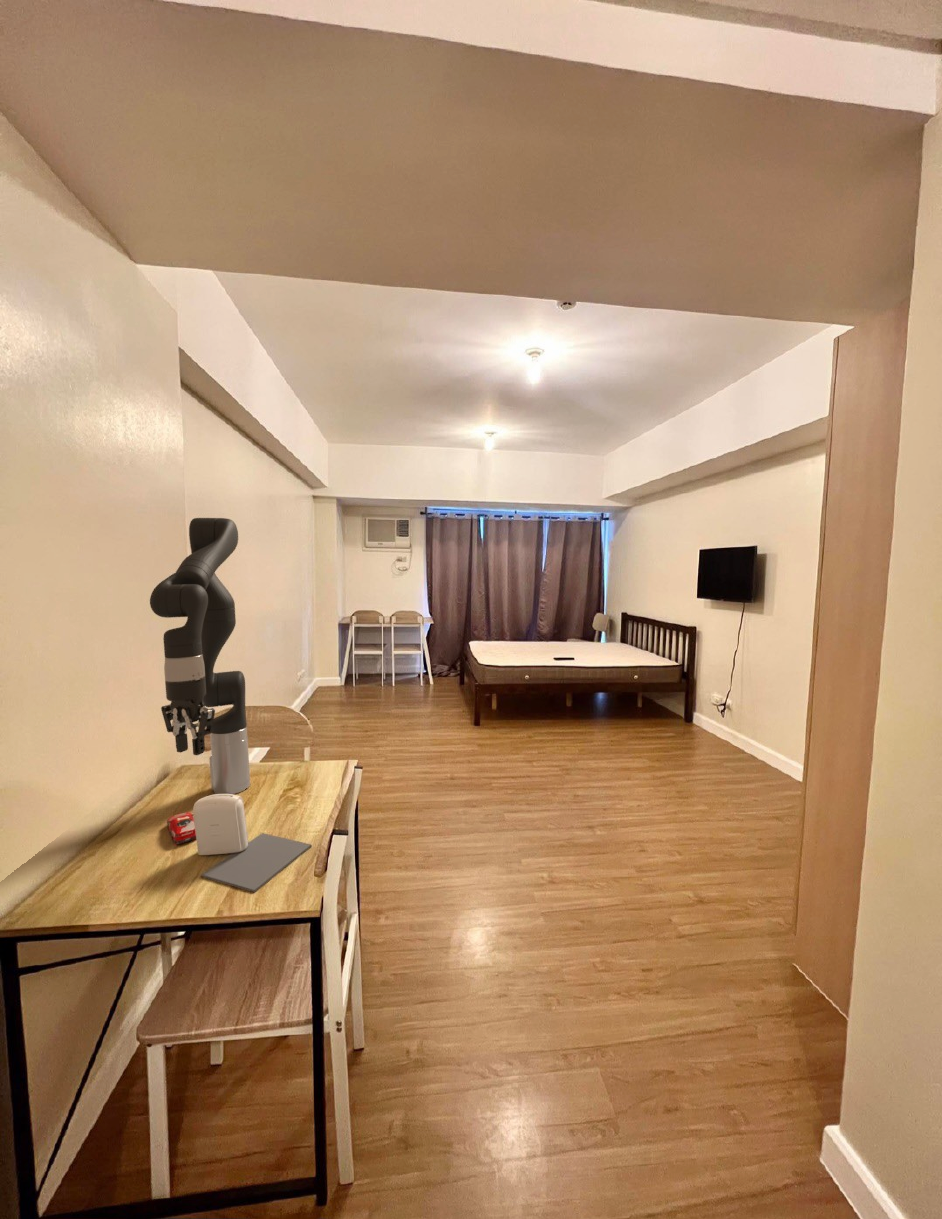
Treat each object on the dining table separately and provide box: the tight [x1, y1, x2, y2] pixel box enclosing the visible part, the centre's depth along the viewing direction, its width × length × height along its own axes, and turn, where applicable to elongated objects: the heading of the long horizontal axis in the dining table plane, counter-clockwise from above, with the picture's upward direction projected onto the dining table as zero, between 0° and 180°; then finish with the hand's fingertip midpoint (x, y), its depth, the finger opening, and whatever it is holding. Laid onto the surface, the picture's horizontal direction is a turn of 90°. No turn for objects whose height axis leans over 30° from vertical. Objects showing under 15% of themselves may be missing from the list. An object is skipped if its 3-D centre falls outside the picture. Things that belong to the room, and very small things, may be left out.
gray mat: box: [200, 832, 312, 893], centre depth 101 cm, size 14×16×1 cm
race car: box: [166, 812, 196, 845], centre depth 113 cm, size 13×5×4 cm, turn 38°
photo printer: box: [192, 793, 249, 856], centre depth 104 cm, size 10×4×12 cm, turn 90°
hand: (190, 752), depth 105 cm, fingers open, 4 cm apart
